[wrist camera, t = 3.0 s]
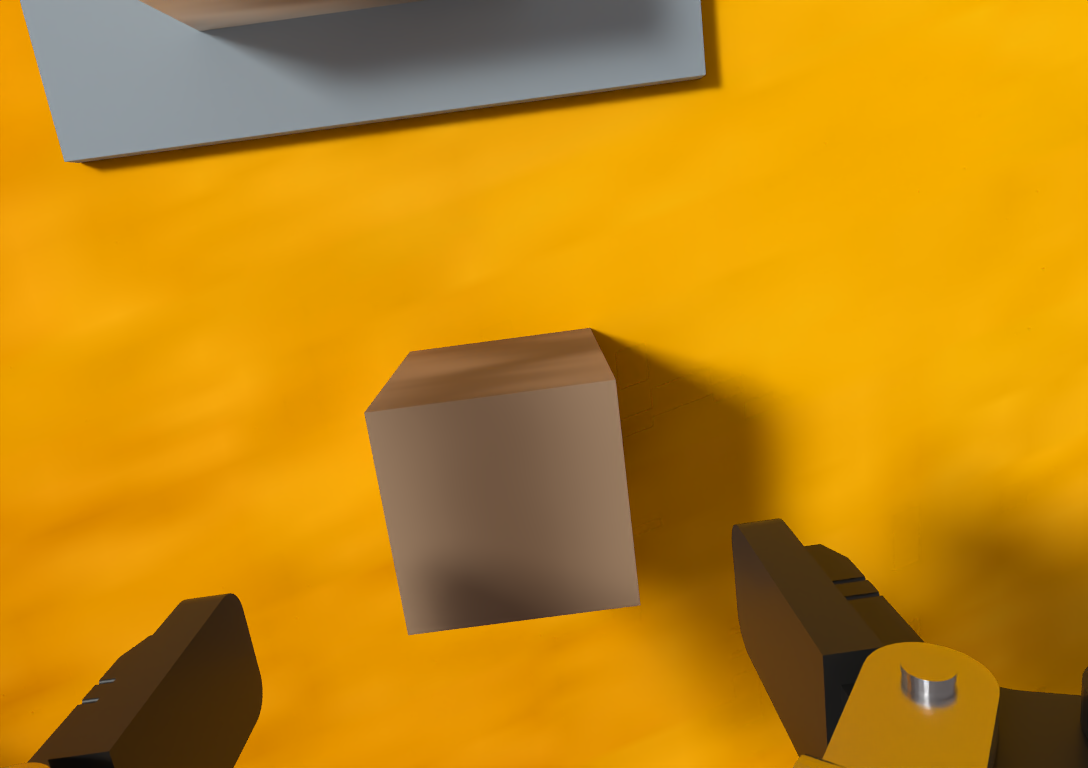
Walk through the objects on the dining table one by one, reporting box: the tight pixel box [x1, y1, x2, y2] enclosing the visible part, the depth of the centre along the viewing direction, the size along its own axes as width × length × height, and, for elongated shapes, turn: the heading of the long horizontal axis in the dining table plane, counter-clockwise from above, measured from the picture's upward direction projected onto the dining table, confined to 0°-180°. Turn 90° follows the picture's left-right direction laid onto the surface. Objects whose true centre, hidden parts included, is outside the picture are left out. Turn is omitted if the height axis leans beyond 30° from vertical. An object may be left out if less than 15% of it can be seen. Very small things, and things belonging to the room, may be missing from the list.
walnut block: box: [365, 328, 640, 635], centre depth 18 cm, size 5×5×6 cm
